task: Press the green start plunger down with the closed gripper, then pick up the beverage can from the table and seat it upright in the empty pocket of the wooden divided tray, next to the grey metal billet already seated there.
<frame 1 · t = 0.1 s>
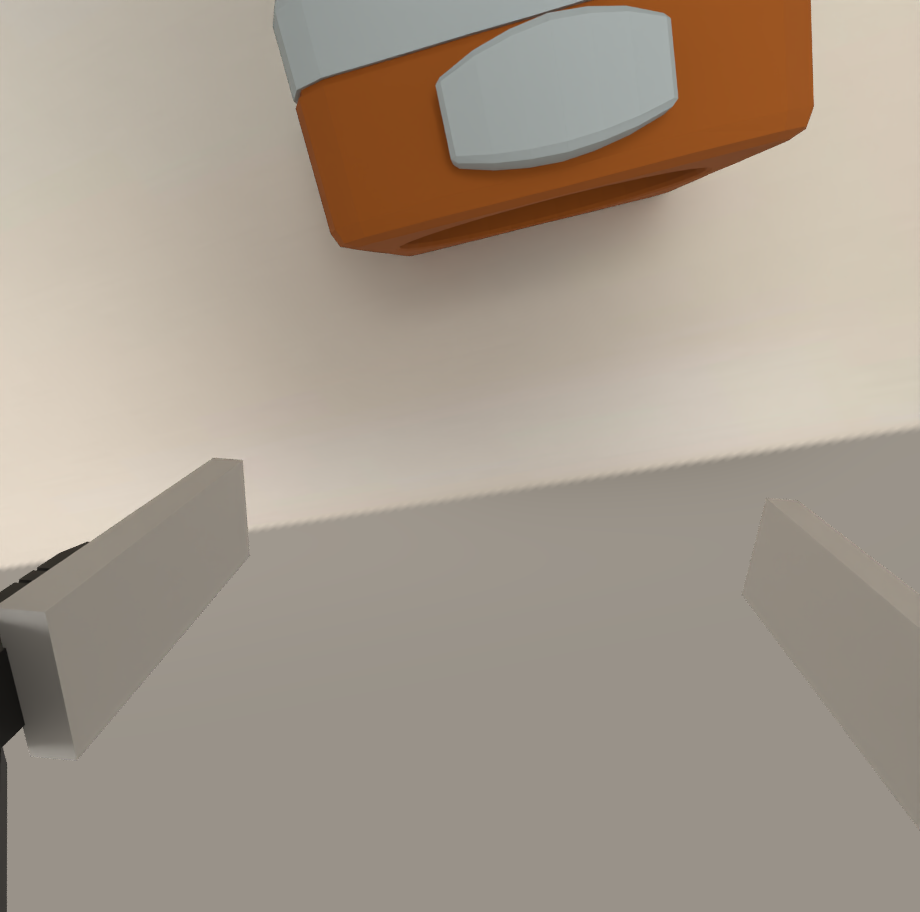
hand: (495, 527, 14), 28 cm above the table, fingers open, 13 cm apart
orange and grey box: (520, 156, 37), on the table
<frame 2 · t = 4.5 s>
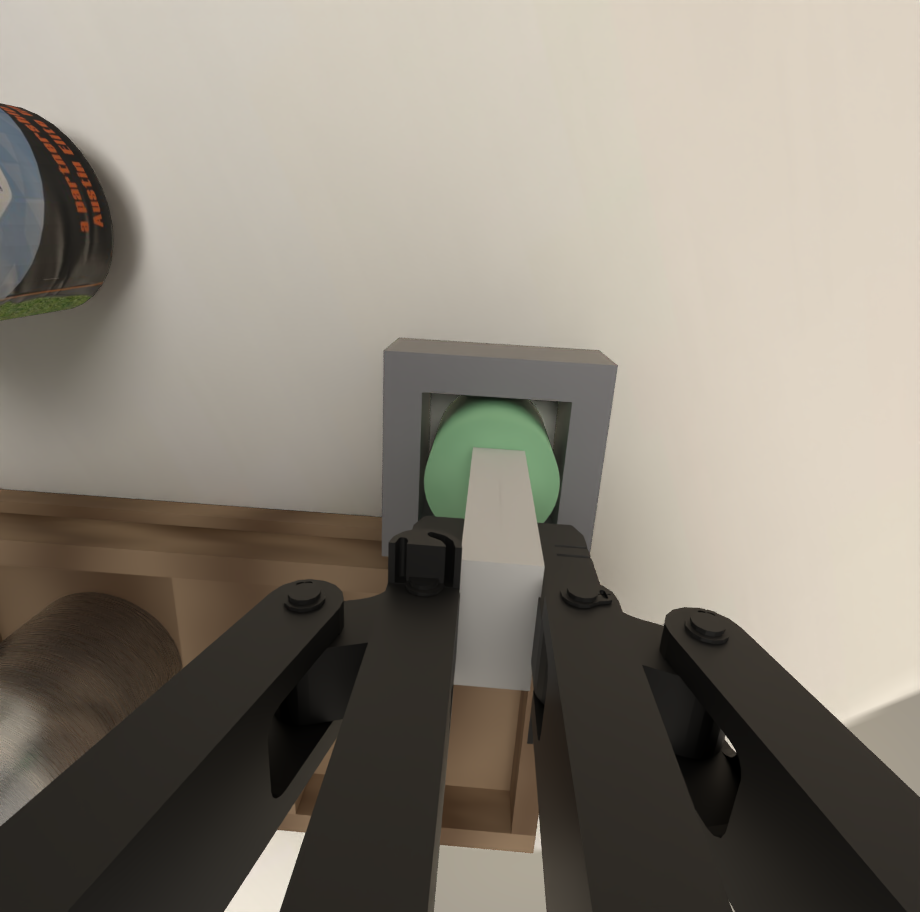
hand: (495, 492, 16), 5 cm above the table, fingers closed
wooden divided tray: (267, 654, 24), on the table
start button: (491, 459, 19), point 2 cm above the table, slide at 1.1 cm, touching gripper
button housing: (491, 439, 21), on the table
beverage can: (41, 226, 19), on the table
seated billet: (107, 657, 24), point 1 cm above the table, touching wooden divided tray
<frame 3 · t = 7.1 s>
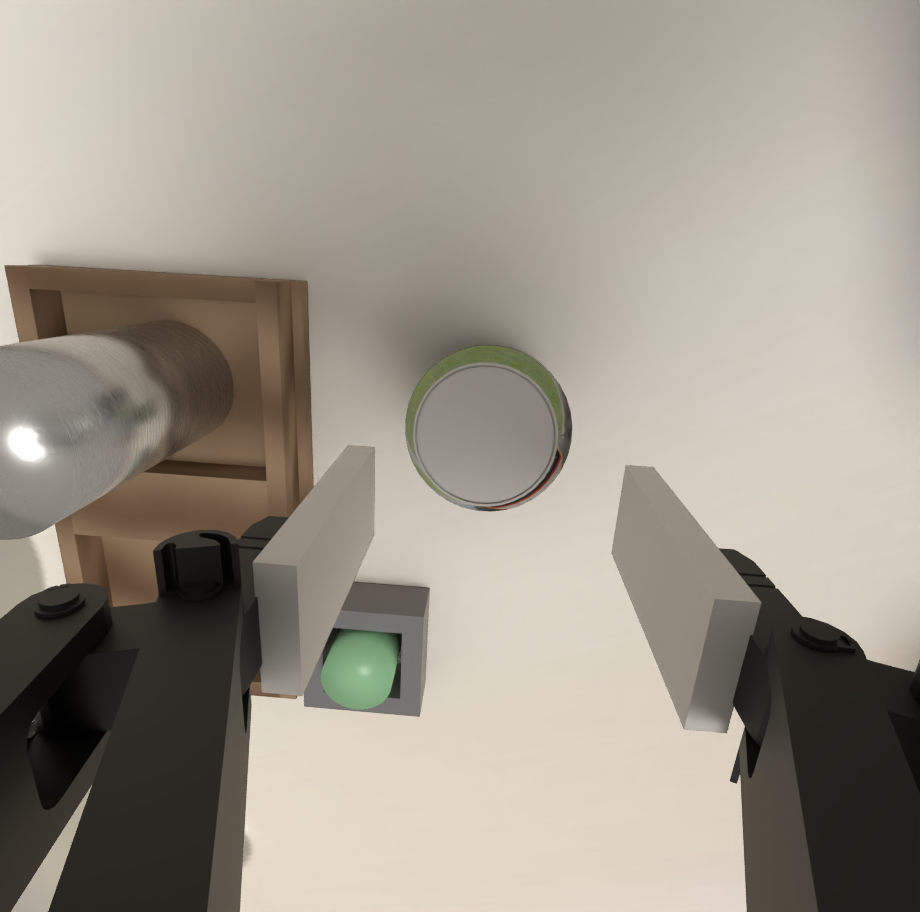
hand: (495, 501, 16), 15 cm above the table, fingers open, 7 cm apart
wooden divided tray: (195, 487, 33), on the table
start button: (364, 654, 33), point 2 cm above the table, slide at 1.1 cm
button housing: (372, 631, 35), on the table
beverage can: (494, 389, 30), on the table
seated billet: (174, 381, 30), point 1 cm above the table, touching wooden divided tray
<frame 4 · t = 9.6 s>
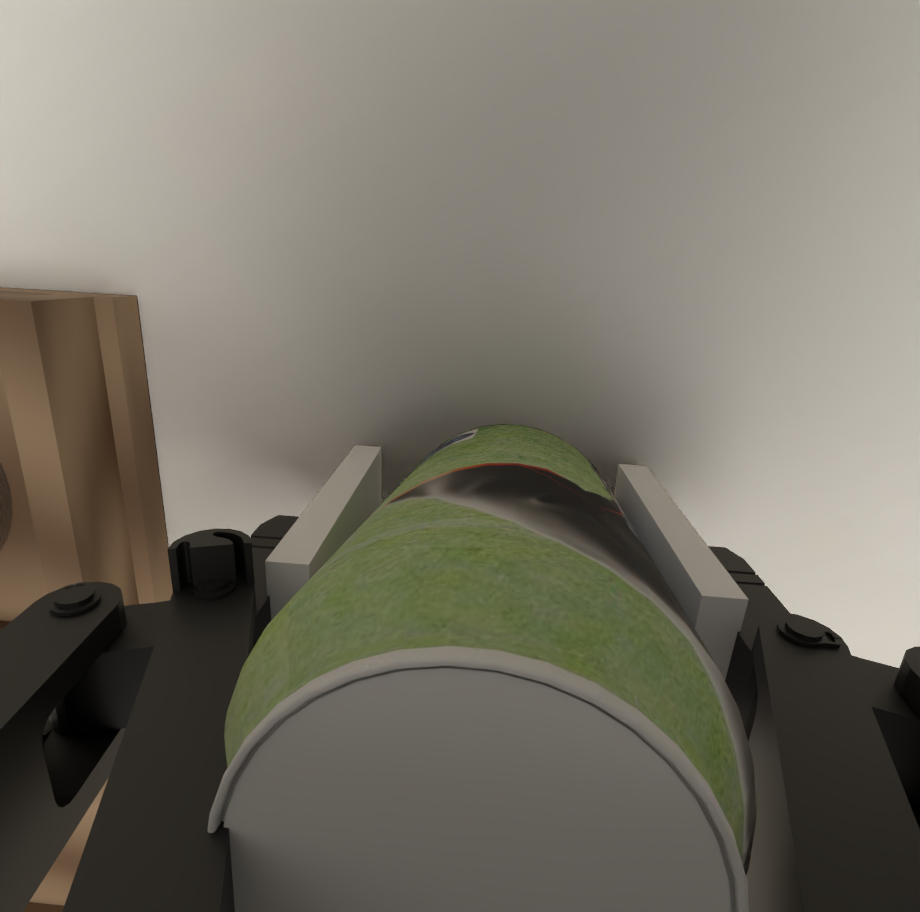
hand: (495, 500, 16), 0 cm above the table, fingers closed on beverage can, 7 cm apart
beverage can: (495, 492, 16), on the table, touching gripper
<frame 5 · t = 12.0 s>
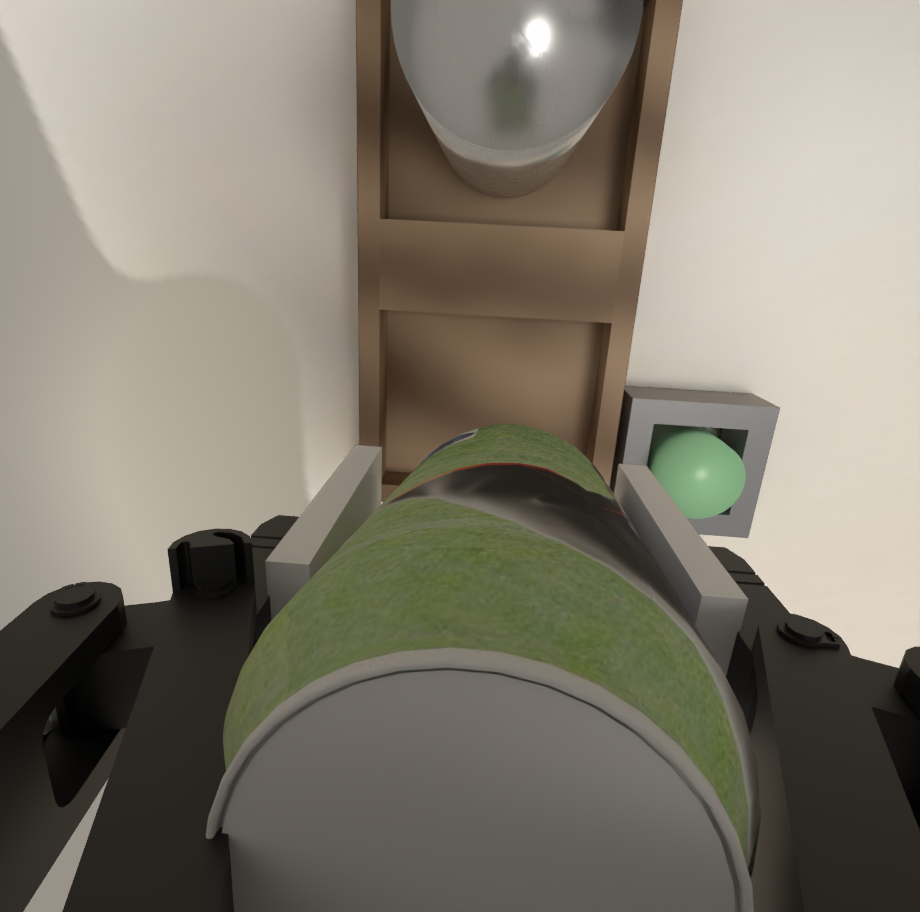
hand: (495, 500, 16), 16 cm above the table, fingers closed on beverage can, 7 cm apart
wooden divided tray: (497, 270, 29), on the table
start button: (687, 465, 29), point 2 cm above the table, slide at 1.1 cm
button housing: (674, 451, 31), on the table
beverage can: (496, 492, 16), point 15 cm above the table, touching gripper
seated billet: (508, 121, 26), point 1 cm above the table, touching wooden divided tray
when the fingers open (3 cm above the table, at t = 14.7 s): beverage can drops 2 cm, resting on wooden divided tray.
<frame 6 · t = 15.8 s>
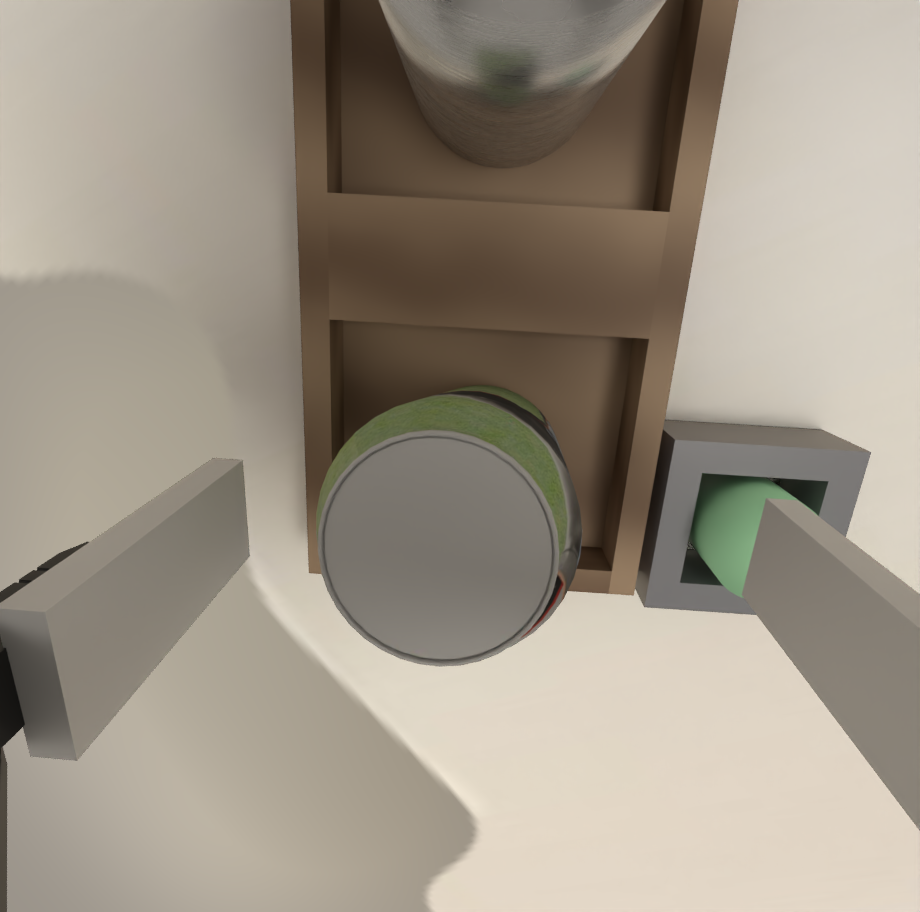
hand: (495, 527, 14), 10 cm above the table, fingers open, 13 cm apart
wooden divided tray: (491, 268, 21), on the table
start button: (742, 524, 22), point 2 cm above the table, slide at 1.1 cm
button housing: (719, 502, 24), on the table
beverage can: (476, 437, 23), point 1 cm above the table, touching wooden divided tray
seated billet: (506, 60, 18), point 1 cm above the table, touching wooden divided tray
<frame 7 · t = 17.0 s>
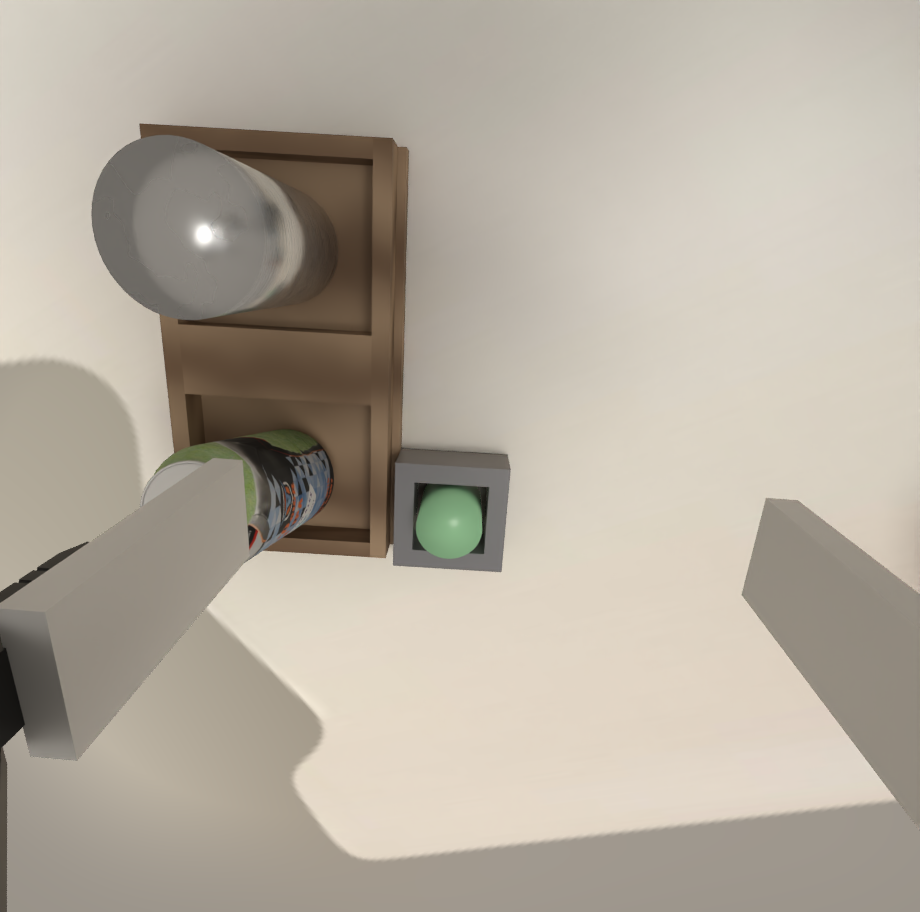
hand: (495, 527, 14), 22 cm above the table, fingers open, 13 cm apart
wooden divided tray: (292, 358, 35), on the table
start button: (450, 513, 36), point 2 cm above the table, slide at 1.1 cm
button housing: (451, 500, 38), on the table
beverage can: (289, 460, 36), point 1 cm above the table, touching wooden divided tray
seated billet: (282, 247, 32), point 1 cm above the table, touching wooden divided tray
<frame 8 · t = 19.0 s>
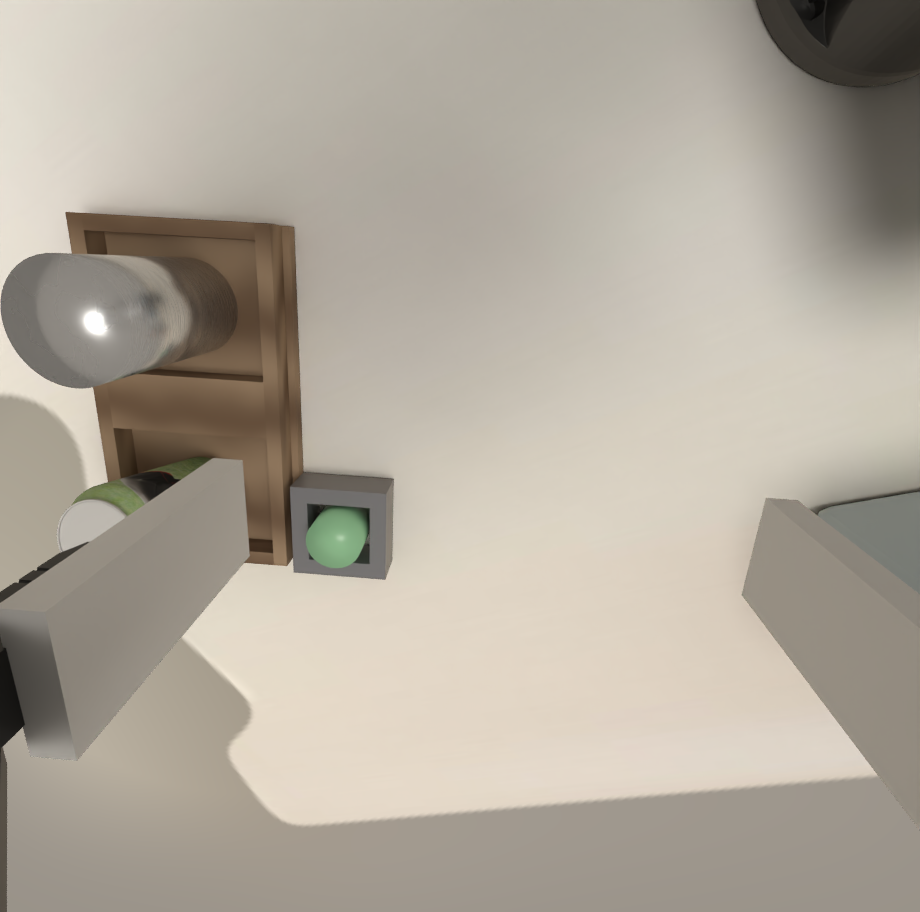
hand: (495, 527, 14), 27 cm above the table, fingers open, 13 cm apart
wooden divided tray: (207, 396, 42), on the table
start button: (341, 529, 42), point 2 cm above the table, slide at 1.1 cm
button housing: (348, 517, 44), on the table
beverage can: (208, 481, 43), point 1 cm above the table, touching wooden divided tray
seated billet: (192, 306, 38), point 1 cm above the table, touching wooden divided tray
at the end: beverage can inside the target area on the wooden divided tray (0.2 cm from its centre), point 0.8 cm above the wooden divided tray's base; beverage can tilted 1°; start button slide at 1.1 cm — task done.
